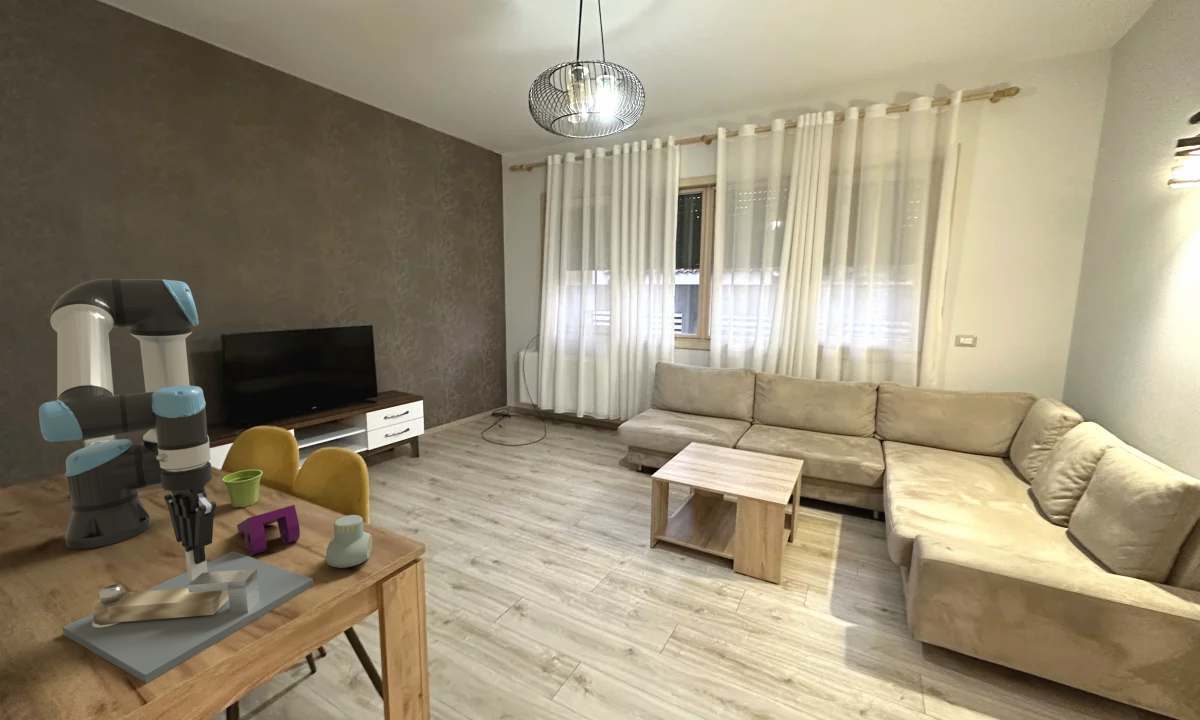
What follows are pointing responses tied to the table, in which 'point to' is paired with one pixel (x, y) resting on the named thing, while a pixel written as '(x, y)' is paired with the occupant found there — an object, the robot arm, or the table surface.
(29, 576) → the table surface
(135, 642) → the slate board
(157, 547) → the table surface
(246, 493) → the plant pot
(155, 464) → the robot arm
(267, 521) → the mounting bracket
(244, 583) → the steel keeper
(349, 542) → the air freshener
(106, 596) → the cylinder
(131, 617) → the brass bar
